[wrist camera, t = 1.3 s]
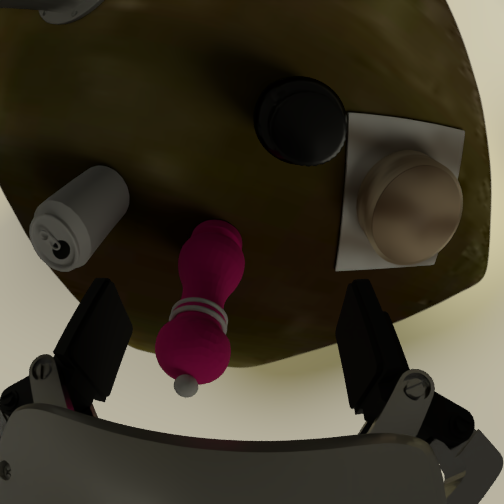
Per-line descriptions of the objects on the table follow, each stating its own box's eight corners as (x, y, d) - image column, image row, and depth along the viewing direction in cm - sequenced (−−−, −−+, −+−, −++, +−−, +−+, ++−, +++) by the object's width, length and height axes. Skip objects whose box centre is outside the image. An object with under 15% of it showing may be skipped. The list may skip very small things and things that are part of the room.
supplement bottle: (281, 65, 22) (298, 50, 12) (336, 105, 24) (386, 123, 14) (241, 118, 25) (229, 141, 15) (296, 155, 27) (319, 202, 17)
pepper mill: (247, 216, 31) (234, 376, 15) (245, 266, 36) (235, 417, 19) (185, 214, 31) (121, 362, 15) (190, 263, 36) (149, 407, 19)
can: (106, 228, 33) (60, 288, 23) (73, 185, 29) (14, 234, 19) (144, 199, 30) (97, 259, 20) (107, 150, 27) (43, 193, 17)
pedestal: (347, 112, 24) (363, 118, 20) (462, 130, 23) (485, 140, 20) (335, 269, 36) (342, 292, 32) (432, 263, 35) (446, 282, 31)
